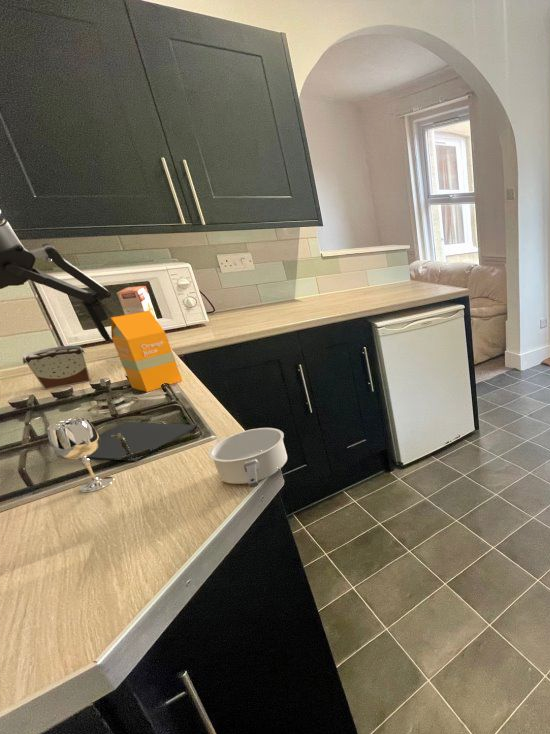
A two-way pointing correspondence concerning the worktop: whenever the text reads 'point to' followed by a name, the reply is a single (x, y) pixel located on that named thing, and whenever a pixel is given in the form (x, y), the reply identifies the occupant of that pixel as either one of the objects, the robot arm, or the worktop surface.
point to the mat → (137, 438)
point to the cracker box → (135, 300)
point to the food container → (58, 366)
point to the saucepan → (249, 455)
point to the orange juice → (144, 351)
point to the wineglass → (77, 446)
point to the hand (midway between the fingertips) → (54, 352)
